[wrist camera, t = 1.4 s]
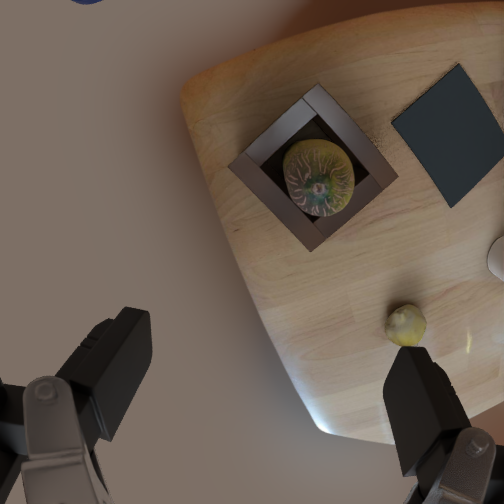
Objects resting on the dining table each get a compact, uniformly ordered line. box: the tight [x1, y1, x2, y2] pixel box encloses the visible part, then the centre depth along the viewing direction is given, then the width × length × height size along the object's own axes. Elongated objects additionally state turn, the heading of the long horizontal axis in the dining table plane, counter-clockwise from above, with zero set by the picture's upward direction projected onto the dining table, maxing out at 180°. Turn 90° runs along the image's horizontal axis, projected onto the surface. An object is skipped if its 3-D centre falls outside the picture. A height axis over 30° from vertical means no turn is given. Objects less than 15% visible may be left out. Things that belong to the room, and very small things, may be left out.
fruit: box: [385, 304, 426, 347], centre depth 42 cm, size 6×6×10 cm
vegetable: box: [282, 139, 355, 216], centre depth 28 cm, size 6×6×20 cm
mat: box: [391, 64, 504, 208], centre depth 33 cm, size 14×14×1 cm
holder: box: [228, 83, 399, 252], centre depth 34 cm, size 12×12×8 cm
